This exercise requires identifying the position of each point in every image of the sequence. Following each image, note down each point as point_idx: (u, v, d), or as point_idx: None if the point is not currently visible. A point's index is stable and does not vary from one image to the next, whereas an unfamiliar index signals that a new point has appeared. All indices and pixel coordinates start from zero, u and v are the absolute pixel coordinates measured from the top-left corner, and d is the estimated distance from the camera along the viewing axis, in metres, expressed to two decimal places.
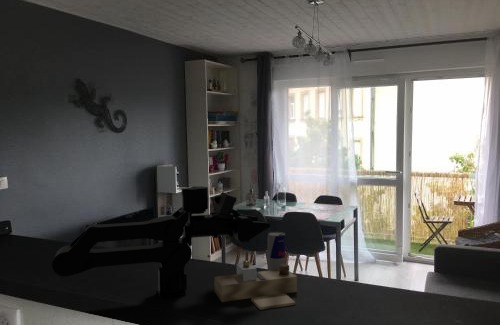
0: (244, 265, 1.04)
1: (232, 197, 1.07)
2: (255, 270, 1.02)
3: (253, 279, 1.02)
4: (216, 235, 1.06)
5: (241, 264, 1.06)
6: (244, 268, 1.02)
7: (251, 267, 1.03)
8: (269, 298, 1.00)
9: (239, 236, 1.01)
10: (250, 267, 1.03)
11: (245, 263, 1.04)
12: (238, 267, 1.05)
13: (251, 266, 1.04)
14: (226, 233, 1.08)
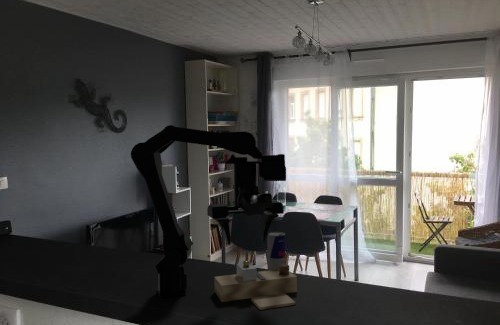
0: (244, 265, 1.04)
1: (247, 210, 0.96)
2: (255, 270, 1.02)
3: (253, 279, 1.02)
4: (233, 187, 1.05)
5: (241, 264, 1.06)
6: (244, 268, 1.02)
7: (251, 267, 1.03)
8: (269, 298, 1.00)
9: (209, 206, 1.02)
10: (250, 267, 1.03)
11: (245, 263, 1.04)
12: (238, 267, 1.05)
13: (251, 266, 1.04)
14: None
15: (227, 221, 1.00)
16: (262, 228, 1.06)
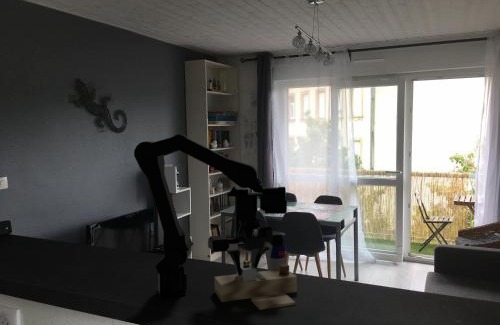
0: (244, 265, 1.04)
1: (247, 245, 0.96)
2: (255, 270, 1.02)
3: (253, 279, 1.02)
4: (234, 219, 1.05)
5: (241, 264, 1.06)
6: (244, 268, 1.02)
7: (251, 267, 1.03)
8: (269, 298, 1.00)
9: (210, 238, 1.02)
10: (250, 267, 1.03)
11: (245, 263, 1.04)
12: None
13: (251, 266, 1.04)
14: None
15: (238, 253, 1.01)
16: (253, 260, 1.05)
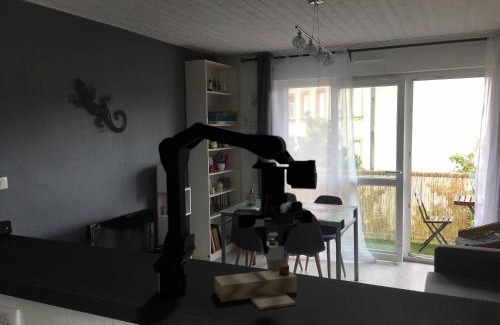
0: (270, 243, 0.97)
1: (276, 219, 0.90)
2: (282, 248, 0.96)
3: (280, 257, 0.96)
4: (259, 194, 0.99)
5: None
6: (271, 246, 0.96)
7: (278, 245, 0.96)
8: (269, 298, 1.00)
9: (234, 213, 0.96)
10: (277, 245, 0.97)
11: (271, 241, 0.97)
12: None
13: (278, 244, 0.98)
14: None
15: (265, 229, 0.94)
16: (279, 238, 0.99)
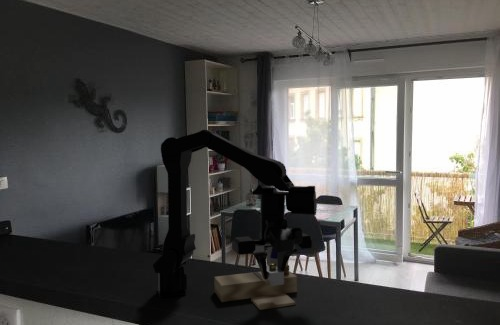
0: (270, 268, 0.98)
1: (276, 247, 0.90)
2: (282, 273, 0.96)
3: (280, 283, 0.96)
4: (259, 219, 0.99)
5: None
6: (271, 271, 0.96)
7: (278, 271, 0.97)
8: (269, 298, 1.00)
9: (234, 239, 0.96)
10: (277, 270, 0.97)
11: (271, 266, 0.97)
12: None
13: (278, 269, 0.98)
14: None
15: (264, 255, 0.95)
16: (279, 263, 0.99)
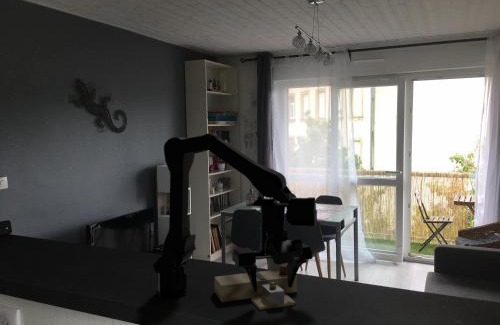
0: (270, 287, 0.98)
1: (276, 259, 0.90)
2: (283, 292, 0.96)
3: (281, 302, 0.96)
4: (260, 230, 0.99)
5: (267, 285, 1.00)
6: (271, 290, 0.96)
7: (278, 289, 0.97)
8: None
9: (234, 251, 0.96)
10: (277, 289, 0.97)
11: (271, 285, 0.98)
12: (264, 289, 0.99)
13: (278, 288, 0.98)
14: None
15: (254, 268, 0.94)
16: (289, 273, 1.00)
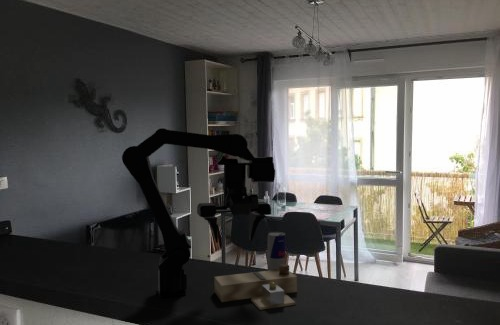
0: (270, 287, 0.98)
1: (233, 210, 0.99)
2: (283, 292, 0.96)
3: (281, 302, 0.96)
4: (223, 188, 1.08)
5: (267, 285, 1.00)
6: (271, 290, 0.96)
7: (278, 289, 0.97)
8: None
9: (199, 204, 1.06)
10: (277, 289, 0.97)
11: (271, 285, 0.98)
12: (264, 289, 0.99)
13: (278, 288, 0.98)
14: None
15: (215, 220, 1.03)
16: (250, 228, 1.09)
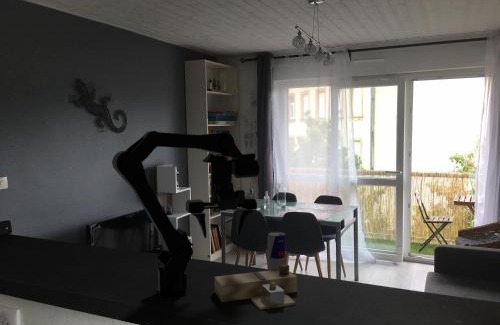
0: (270, 287, 0.98)
1: (220, 205, 1.03)
2: (283, 292, 0.96)
3: (281, 302, 0.96)
4: (210, 184, 1.12)
5: (267, 285, 1.00)
6: (271, 290, 0.96)
7: (278, 289, 0.97)
8: None
9: (187, 201, 1.09)
10: (277, 289, 0.97)
11: (271, 285, 0.98)
12: (264, 289, 0.99)
13: (278, 288, 0.98)
14: None
15: (203, 216, 1.07)
16: (237, 223, 1.13)
